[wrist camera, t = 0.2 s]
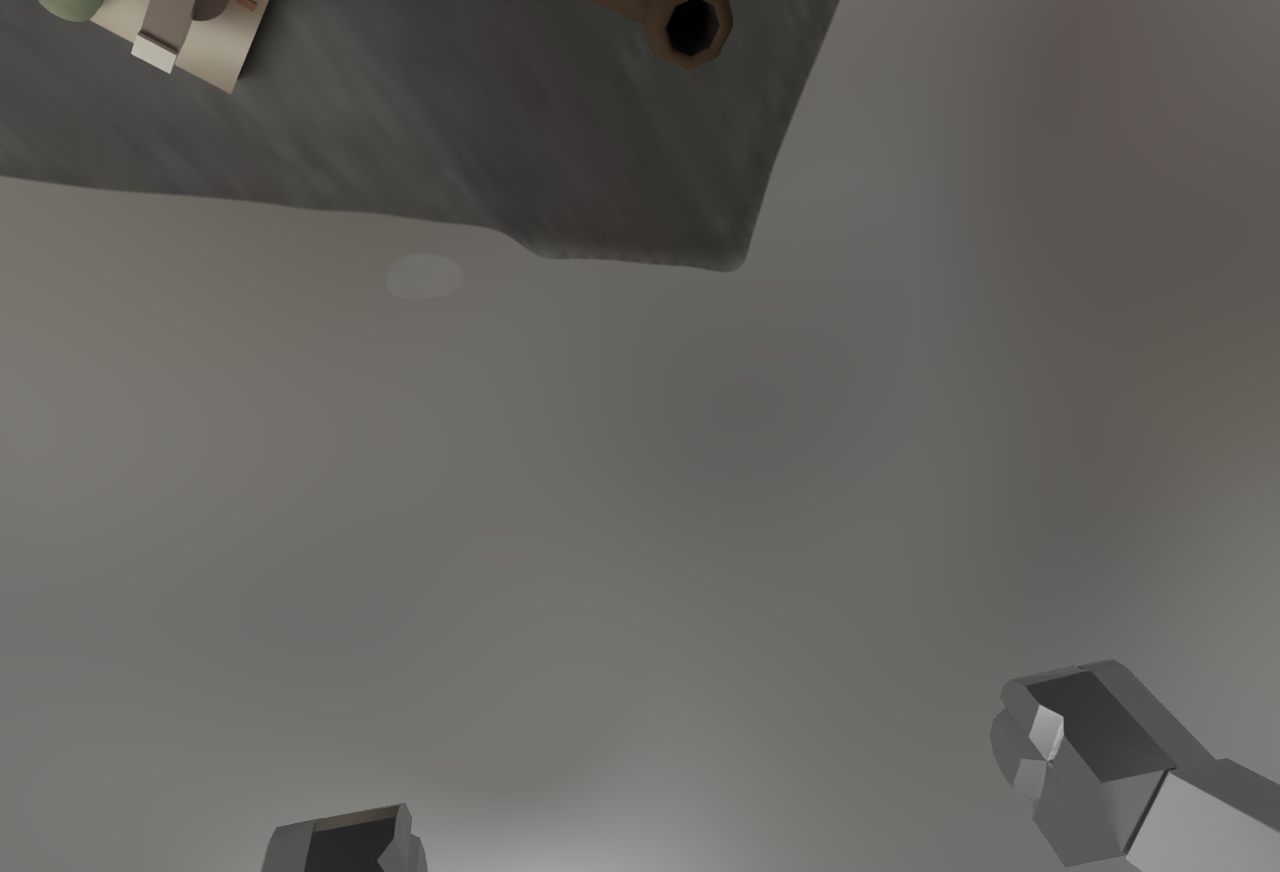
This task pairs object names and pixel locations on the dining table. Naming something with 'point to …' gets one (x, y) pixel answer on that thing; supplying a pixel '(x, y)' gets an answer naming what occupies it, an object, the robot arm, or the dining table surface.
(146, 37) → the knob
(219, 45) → the control panel
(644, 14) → the beer bottle
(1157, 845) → the robot arm
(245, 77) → the dining table surface
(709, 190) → the dining table surface
